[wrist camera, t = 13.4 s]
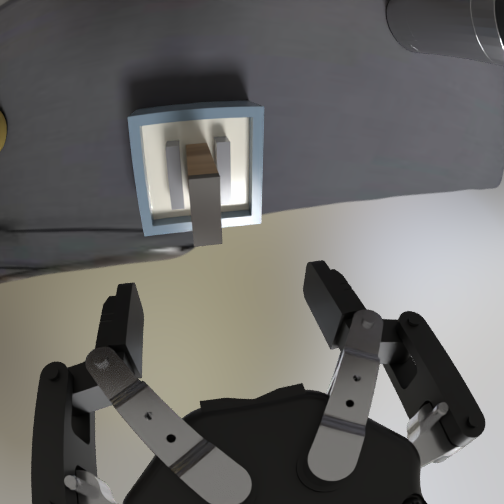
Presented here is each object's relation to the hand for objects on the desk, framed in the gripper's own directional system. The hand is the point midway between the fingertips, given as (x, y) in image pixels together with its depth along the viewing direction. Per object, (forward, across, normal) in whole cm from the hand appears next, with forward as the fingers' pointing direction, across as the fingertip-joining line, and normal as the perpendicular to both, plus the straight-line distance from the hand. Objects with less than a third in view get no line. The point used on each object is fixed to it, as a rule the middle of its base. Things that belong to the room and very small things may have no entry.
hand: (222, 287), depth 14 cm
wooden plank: (+18, 0, 0) cm, 18 cm away
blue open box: (+23, 0, 0) cm, 23 cm away
